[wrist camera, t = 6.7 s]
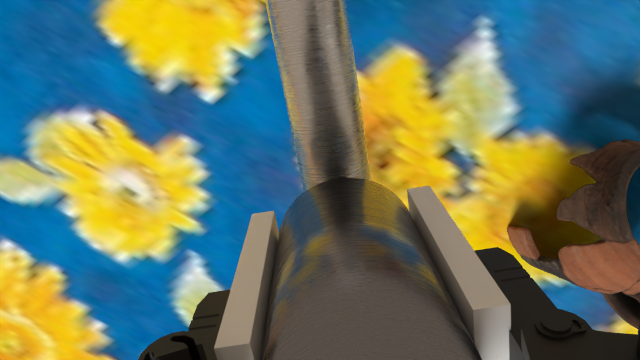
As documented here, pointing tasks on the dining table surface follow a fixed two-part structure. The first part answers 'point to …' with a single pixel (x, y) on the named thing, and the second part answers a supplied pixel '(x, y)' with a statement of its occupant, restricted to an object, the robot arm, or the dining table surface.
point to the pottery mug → (597, 232)
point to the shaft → (346, 220)
